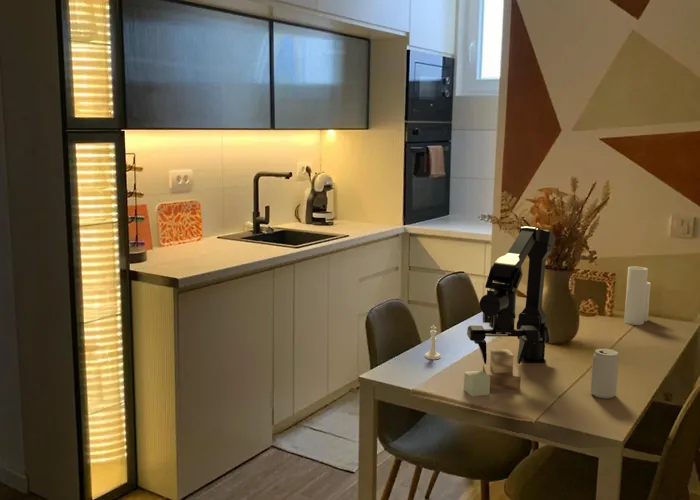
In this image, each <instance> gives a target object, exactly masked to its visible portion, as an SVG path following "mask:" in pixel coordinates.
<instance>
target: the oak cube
mask: <svg viewBox="0 0 700 500" xmlns="http://www.w3.org/2000/svg"><path fill="white" fill-rule="evenodd" d="M489 357H490V360H489V361H490V362H489V363H490V368H491V369H492V370H493V372H494V373H513V365H514V354H513V353H512V351H510V349H508V348H507V349H504V348H503V349H501V348H500V349H499V348H498V349H497V348H496V349H490V356H489Z"/></svg>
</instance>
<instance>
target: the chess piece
mask: <svg viewBox="0 0 700 500" xmlns="http://www.w3.org/2000/svg"><path fill="white" fill-rule="evenodd" d="M430 329H431V330H430V331H429V333H430V336H431V337H430V338H429V340H430V341H431V342H430V349H429V351H427V352H425V353H424V358H425V359H428V360H439V359H441V357H442V356H441V353H439V352H437V351H436V342H435V341H437V338H436V336H437V326H435V325H434V324H432V326H430Z"/></svg>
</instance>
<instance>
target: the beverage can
mask: <svg viewBox="0 0 700 500" xmlns="http://www.w3.org/2000/svg"><path fill="white" fill-rule="evenodd" d="M619 361H620V356H619V352H618V351H617V350H615V349H611V348H610V349H609V348H596V349H595V350H594V354H593V355H592V365H591V366H592V367H591V377H590V379H591V381H590V393H591V394H592V395H593V396H594V397H596V398H598V399H606V400H607V399H612V398H614V397H615V396H616V395H617V390H618V389H617V388H618V379H619V378H618V376H619V363H620V362H619Z"/></svg>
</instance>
